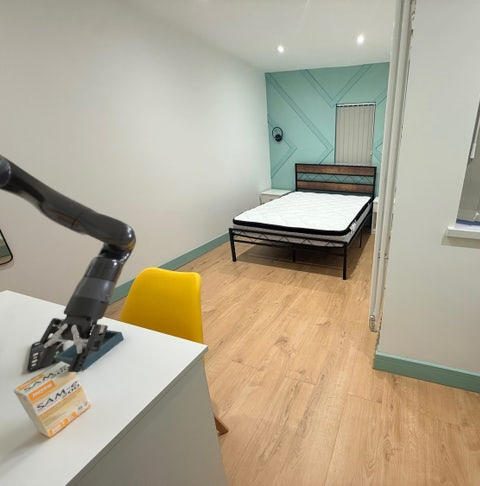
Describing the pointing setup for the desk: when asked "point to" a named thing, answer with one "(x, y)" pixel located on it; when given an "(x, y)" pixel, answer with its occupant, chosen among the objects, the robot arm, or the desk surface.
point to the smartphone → (39, 355)
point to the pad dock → (107, 344)
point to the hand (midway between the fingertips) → (58, 368)
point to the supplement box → (53, 399)
